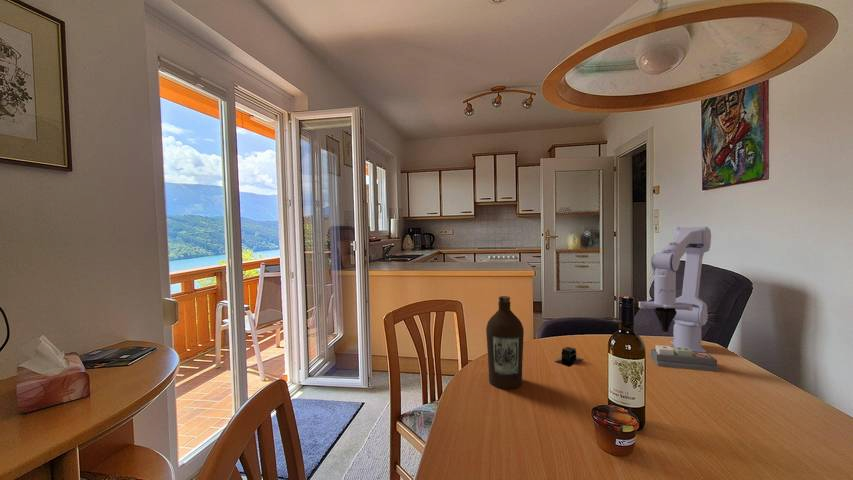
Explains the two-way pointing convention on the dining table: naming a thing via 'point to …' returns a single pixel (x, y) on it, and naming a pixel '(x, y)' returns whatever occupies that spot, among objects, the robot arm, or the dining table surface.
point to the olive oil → (505, 347)
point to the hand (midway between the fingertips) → (664, 331)
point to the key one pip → (664, 350)
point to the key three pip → (701, 355)
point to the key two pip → (683, 351)
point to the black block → (569, 357)
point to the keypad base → (685, 361)
